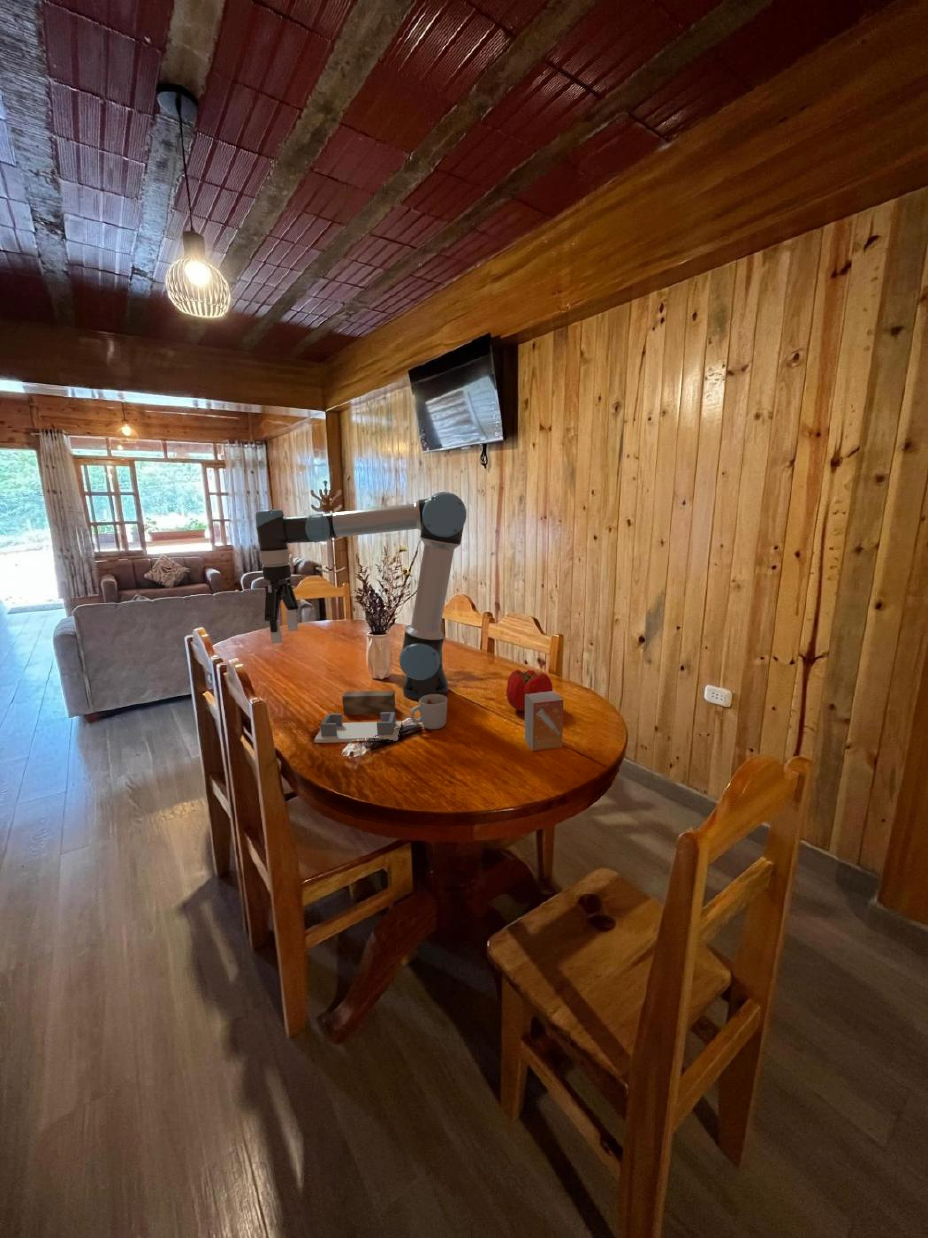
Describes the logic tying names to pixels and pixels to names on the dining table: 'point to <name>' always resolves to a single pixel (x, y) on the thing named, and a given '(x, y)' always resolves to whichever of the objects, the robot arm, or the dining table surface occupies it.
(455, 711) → the dining table surface
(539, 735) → the small box
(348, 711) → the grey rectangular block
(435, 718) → the cup
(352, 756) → the dining table surface
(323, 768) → the dining table surface
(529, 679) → the tomato
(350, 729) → the board
